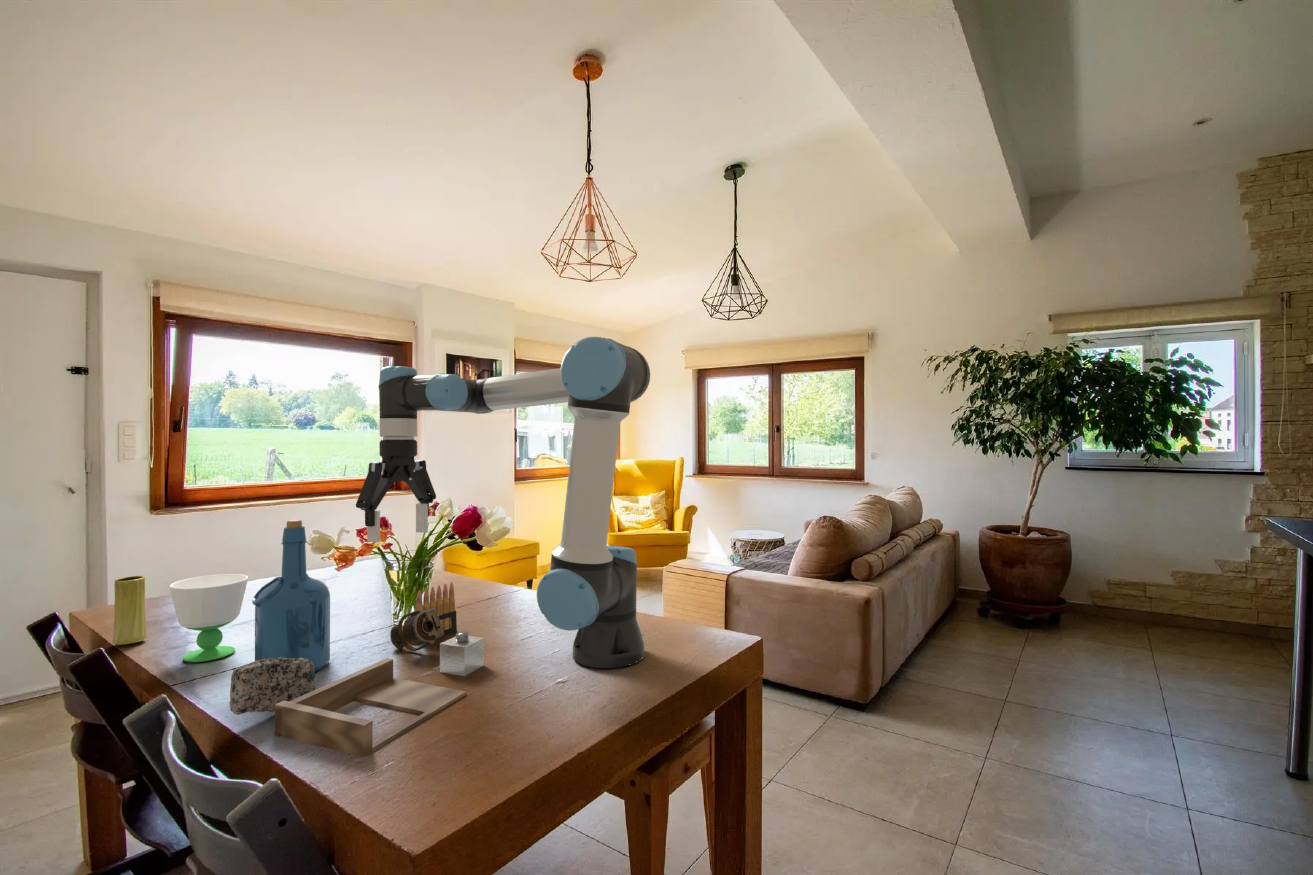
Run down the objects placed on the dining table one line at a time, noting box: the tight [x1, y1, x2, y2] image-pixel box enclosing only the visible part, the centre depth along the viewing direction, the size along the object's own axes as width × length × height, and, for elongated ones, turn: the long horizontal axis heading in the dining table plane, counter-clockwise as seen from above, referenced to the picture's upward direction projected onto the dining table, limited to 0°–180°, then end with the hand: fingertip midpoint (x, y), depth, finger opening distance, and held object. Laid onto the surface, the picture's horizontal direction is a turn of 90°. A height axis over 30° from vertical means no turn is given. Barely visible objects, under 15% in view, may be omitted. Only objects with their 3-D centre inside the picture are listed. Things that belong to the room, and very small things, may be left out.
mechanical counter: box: [389, 608, 444, 652], centre depth 128 cm, size 7×13×10 cm, turn 78°
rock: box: [229, 657, 316, 716], centre depth 100 cm, size 13×9×4 cm
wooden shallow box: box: [274, 657, 467, 758], centre depth 100 cm, size 18×22×5 cm
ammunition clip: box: [415, 581, 458, 638], centre depth 140 cm, size 11×2×12 cm, turn 147°
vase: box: [111, 575, 148, 646], centre depth 136 cm, size 6×6×14 cm
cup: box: [168, 573, 249, 663], centre depth 128 cm, size 14×14×16 cm
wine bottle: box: [251, 519, 331, 672], centre depth 120 cm, size 14×13×30 cm
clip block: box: [439, 631, 485, 677], centre depth 120 cm, size 6×6×8 cm
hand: (398, 537), depth 129 cm, fingers open, 13 cm apart
